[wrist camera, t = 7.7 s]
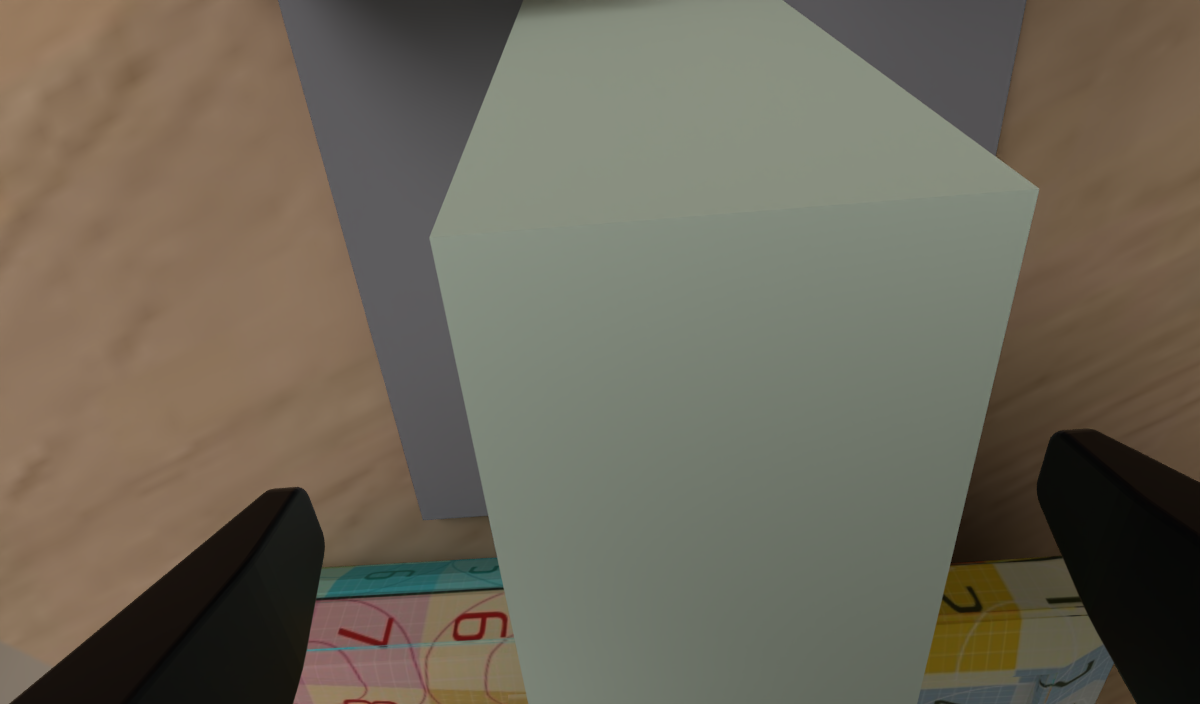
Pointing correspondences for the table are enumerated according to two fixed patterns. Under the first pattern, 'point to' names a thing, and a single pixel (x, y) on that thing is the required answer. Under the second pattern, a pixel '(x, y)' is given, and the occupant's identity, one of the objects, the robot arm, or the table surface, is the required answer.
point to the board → (721, 351)
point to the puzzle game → (493, 674)
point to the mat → (442, 128)
